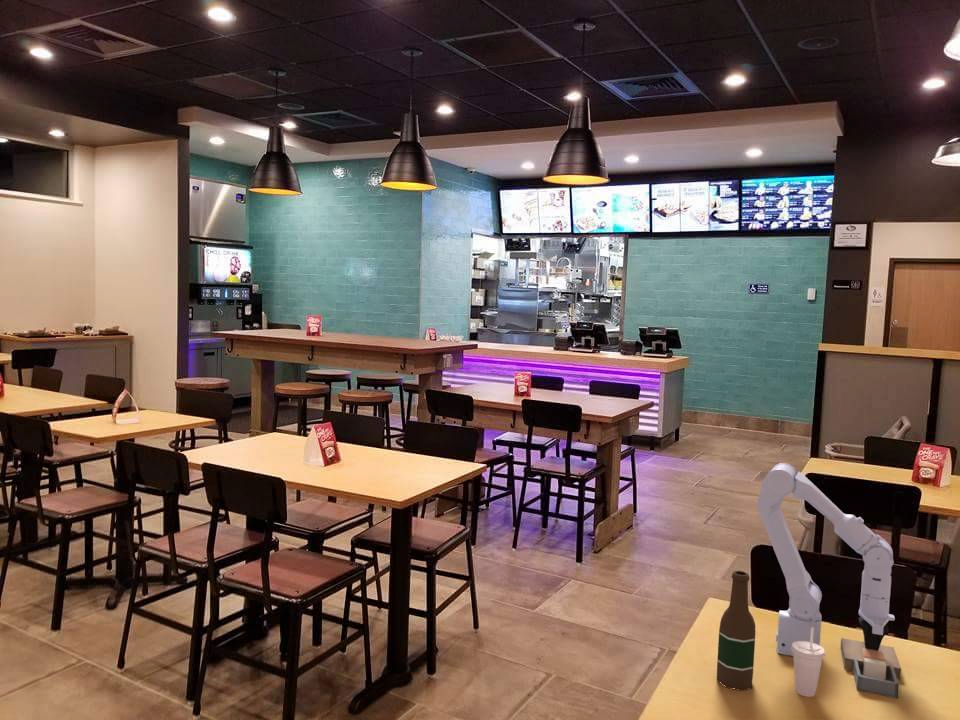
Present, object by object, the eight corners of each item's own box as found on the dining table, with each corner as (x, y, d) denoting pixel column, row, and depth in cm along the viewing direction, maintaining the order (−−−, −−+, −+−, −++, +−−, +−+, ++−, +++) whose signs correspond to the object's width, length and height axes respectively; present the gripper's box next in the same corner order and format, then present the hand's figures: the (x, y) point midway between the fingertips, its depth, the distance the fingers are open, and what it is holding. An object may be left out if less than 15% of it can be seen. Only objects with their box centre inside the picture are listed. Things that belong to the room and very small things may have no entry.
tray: (856, 689, 154) (857, 676, 154) (852, 670, 162) (853, 657, 162) (897, 698, 151) (898, 684, 151) (891, 678, 159) (892, 664, 159)
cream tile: (863, 675, 160) (864, 679, 158) (864, 657, 159) (865, 661, 158) (883, 679, 158) (885, 683, 156) (884, 661, 158) (886, 665, 156)
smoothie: (825, 702, 149) (830, 636, 148) (792, 698, 150) (796, 632, 149) (817, 686, 155) (821, 622, 154) (785, 682, 156) (789, 619, 155)
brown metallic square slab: (844, 668, 163) (845, 658, 163) (840, 648, 173) (841, 637, 173) (900, 679, 159) (901, 668, 159) (892, 657, 169) (893, 647, 169)
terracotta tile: (863, 664, 160) (864, 655, 160) (861, 656, 164) (862, 647, 164) (884, 668, 159) (884, 659, 158) (881, 660, 162) (882, 651, 162)
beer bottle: (725, 669, 161) (732, 563, 160) (760, 682, 156) (766, 573, 154) (708, 681, 156) (714, 572, 154) (743, 695, 150) (750, 582, 149)
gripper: (900, 609, 155) (896, 671, 156) (890, 586, 168) (886, 642, 169) (863, 603, 157) (859, 664, 158) (856, 580, 171) (852, 636, 172)
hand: (871, 652), depth 164 cm, fingers closed
